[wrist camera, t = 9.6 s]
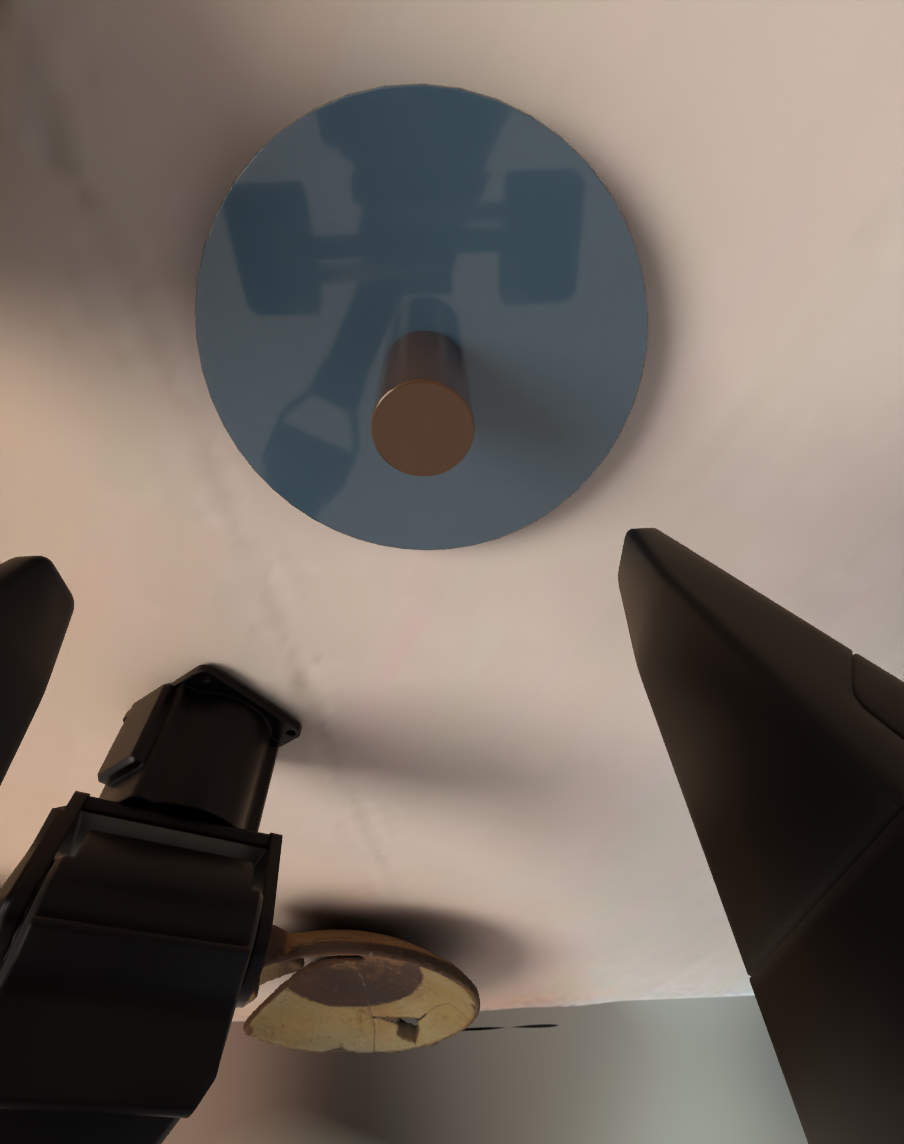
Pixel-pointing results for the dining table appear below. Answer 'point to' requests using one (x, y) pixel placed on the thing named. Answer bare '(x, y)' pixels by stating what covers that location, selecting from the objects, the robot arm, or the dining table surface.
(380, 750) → the dining table surface
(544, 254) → the lid
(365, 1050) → the oil lamp
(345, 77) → the dining table surface
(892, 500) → the dining table surface
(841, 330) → the dining table surface
